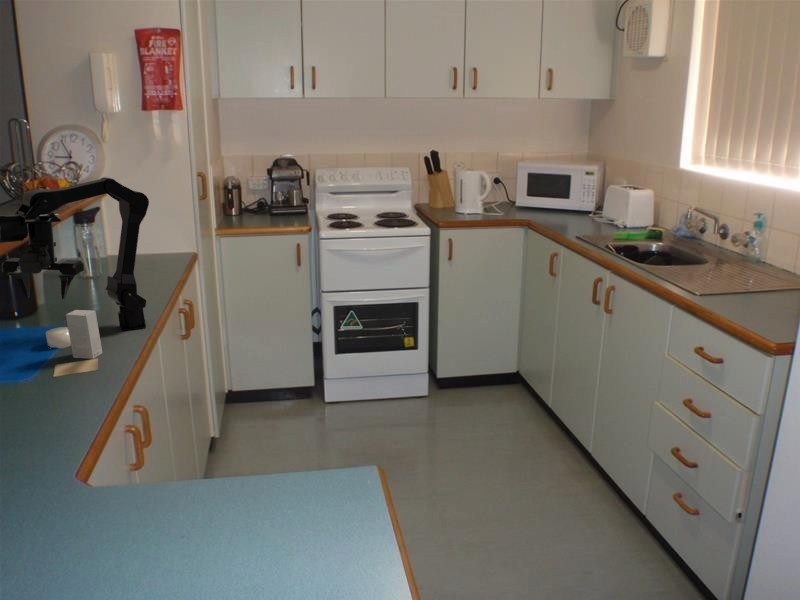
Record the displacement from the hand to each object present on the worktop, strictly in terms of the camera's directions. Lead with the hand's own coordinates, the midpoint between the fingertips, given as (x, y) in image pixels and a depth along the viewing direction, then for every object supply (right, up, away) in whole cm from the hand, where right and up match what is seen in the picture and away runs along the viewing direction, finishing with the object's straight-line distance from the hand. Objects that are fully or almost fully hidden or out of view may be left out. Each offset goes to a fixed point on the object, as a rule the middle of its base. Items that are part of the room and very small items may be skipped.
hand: (45, 298), depth 184 cm
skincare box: (+12, -15, -2) cm, 19 cm away
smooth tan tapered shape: (+12, -17, -9) cm, 23 cm away
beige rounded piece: (+1, -13, +6) cm, 14 cm away
